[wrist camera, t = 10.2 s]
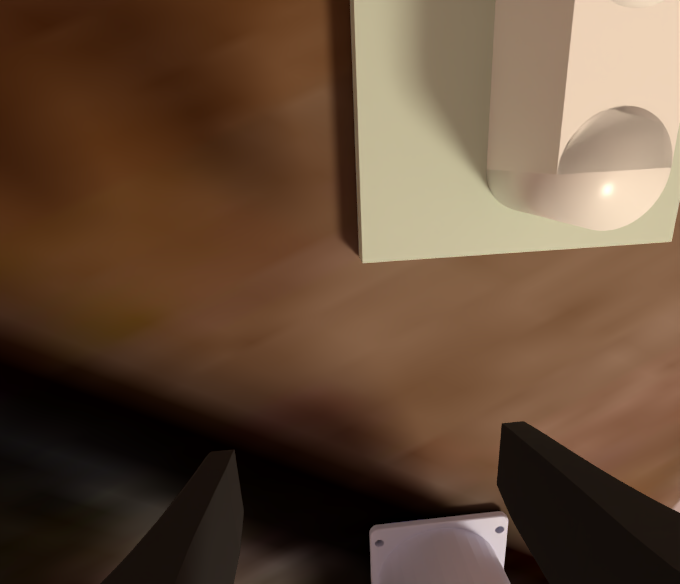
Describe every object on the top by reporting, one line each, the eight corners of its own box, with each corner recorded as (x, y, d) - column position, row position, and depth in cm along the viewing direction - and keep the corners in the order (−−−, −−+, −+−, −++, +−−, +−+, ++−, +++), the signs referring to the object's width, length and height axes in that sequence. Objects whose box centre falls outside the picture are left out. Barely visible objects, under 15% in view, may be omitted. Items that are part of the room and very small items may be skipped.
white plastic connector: (565, 208, 18) (660, 226, 13) (484, 213, 18) (550, 234, 13) (604, -136, 14) (753, -278, 10) (502, -134, 14) (603, -280, 9)
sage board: (650, 236, 20) (671, 241, 19) (358, 256, 19) (362, 262, 18) (712, -102, 16) (743, -122, 15) (346, -98, 15) (349, -118, 14)
